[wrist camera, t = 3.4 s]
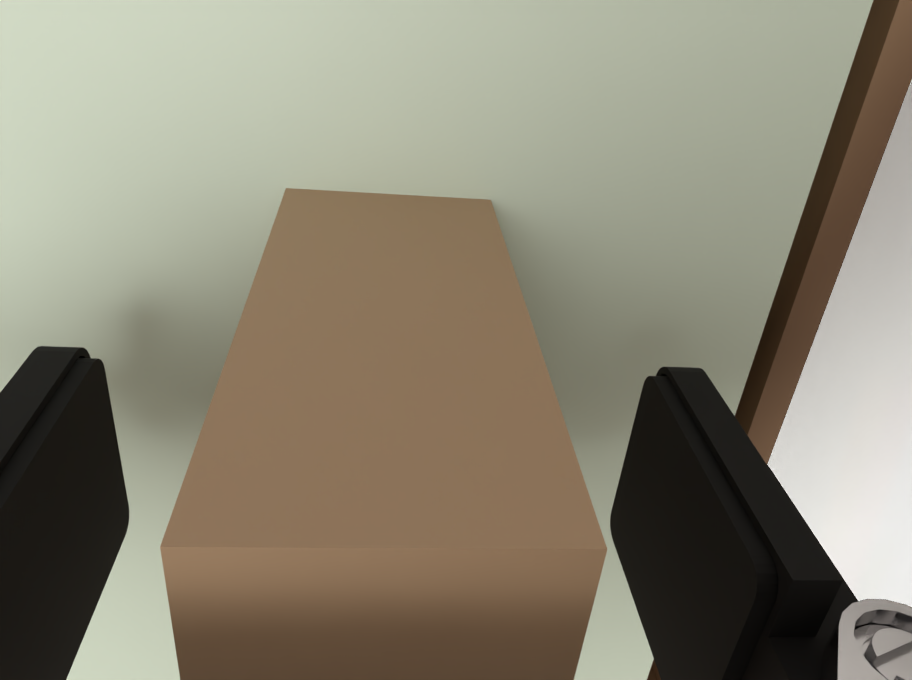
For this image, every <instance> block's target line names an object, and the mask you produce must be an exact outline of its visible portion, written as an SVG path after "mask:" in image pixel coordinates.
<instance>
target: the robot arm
mask: <svg viewBox="0 0 912 680" xmlns="http://www.w3.org/2000/svg"><path fill="white" fill-rule="evenodd" d="M128 524H129V504H128V499H127V493H126V487H125V481H124V476H123V470H122V464H121V458H120V453H119V447H118V441H117V435H116V430H115V424H114V418H113V412H112V407H111V401H110V395H109V390H108V384H107V378H106V372H105V368H104V364H103V362H102V360H100V359H97V358H91V357H90V354H89V353H88V351H87V350H86V349H85V348H84V347H55V346H39V347H37V348H35V349H34V350H33V351H32V353H31V354H30V355H29V356H28V358H27V359H26V360H25V361H24V363H23V364H22V365H21V367H20V368H19V369H18V370H17V372H16V373H15V374H14V376H13V377H12V378H11V379H10V381H9V382H8V383H7V385H6V386H5V387H4V388H3V390H2V391H1V392H0V680H66V679H67V677H68V674H69V672H70V669H71V667H72V665H73V662H74V660H75V657H76V655H77V652H78V650H79V648H80V645H81V643H82V640H83V638H84V635H85V633H86V631H87V628H88V626H89V623H90V621H91V618H92V616H93V614H94V611H95V609H96V606H97V604H98V601H99V599H100V596H101V594H102V592H103V589H104V587H105V584H106V582H107V579H108V577H109V575H110V572H111V570H112V567H113V565H114V562H115V560H116V558H117V555H118V553H119V550H120V548H121V545H122V543H123V541H124V538H125V536H126V532H127V529H128ZM610 530H611V536H612V539H613V542H614V545H615V548H616V551H617V554H618V557H619V560H620V562H621V565H622V568H623V571H624V574H625V577H626V580H627V583H628V586H629V588H630V591H631V594H632V597H633V600H634V603H635V606H636V609H637V612H638V614H639V617H640V620H641V623H642V626H643V629H644V632H645V635H646V637H647V640H648V643H649V646H650V649H651V652H652V655H653V658H654V661H655V663H656V666H657V669H658V672H659V675H660V678H661V680H912V607H910V606H908V605H905V604H901V603H897V602H893V601H889V600H884V599H865V600H862V601H858V600H857V599H856V597H855V596H854V594H853V593H852V591H851V590H850V588H849V587H848V585H847V584H846V582H845V581H844V579H843V578H842V576H841V575H840V573H839V572H838V570H837V569H836V567H835V566H834V564H833V563H832V561H831V560H830V558H829V557H828V555H827V554H826V552H825V551H824V549H823V547H822V546H821V544H820V543H819V541H818V540H817V538H816V537H815V535H814V534H813V532H812V531H811V529H810V528H809V526H808V525H807V523H806V522H805V520H804V519H803V517H802V516H801V514H800V513H799V511H798V510H797V508H796V507H795V505H794V504H793V502H792V501H791V499H790V498H789V496H788V495H787V493H786V492H785V490H784V489H783V487H782V486H781V484H780V483H779V481H778V480H777V478H776V477H775V475H774V474H773V472H772V471H771V469H770V468H769V467H768V465H767V464H766V463H765V461H764V460H763V458H762V457H761V455H760V454H759V452H758V451H757V449H756V448H755V446H754V445H753V443H752V442H751V440H750V439H749V437H748V436H747V434H746V433H745V431H744V430H743V428H742V426H741V425H740V423H739V422H738V420H737V419H736V417H735V416H734V414H733V413H732V411H731V410H730V408H729V407H728V405H727V404H726V402H725V401H724V399H723V398H722V396H721V395H720V393H719V392H718V390H717V389H716V387H715V386H714V384H713V383H712V381H711V380H710V378H709V377H708V375H707V374H706V372H705V371H704V370H703V369H702V368H692V367H662V368H660V369H659V370H658V372H657V374H656V376H648V377H647V378H646V379H645V381H644V384H643V388H642V391H641V395H640V399H639V403H638V407H637V411H636V415H635V419H634V423H633V427H632V431H631V435H630V439H629V443H628V447H627V451H626V455H625V459H624V463H623V467H622V471H621V475H620V479H619V483H618V487H617V491H616V495H615V498H614V502H613V506H612V510H611V516H610Z"/></svg>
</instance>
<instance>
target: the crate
mask: <svg viewBox="0 0 912 680" xmlns="http://www.w3.org/2000/svg"><path fill="white" fill-rule="evenodd" d="M911 79H912V0H873V3H872V6H871V9H870V12H869V15H868V18H867V21H866V24H865V27H864V30H863V33H862V36H861V39H860V42H859V45H858V48H857V51H856V54H855V57H854V60H853V63H852V66H851V69H850V72H849V75H848V78H847V81H846V84H845V87H844V90H843V93H842V96H841V99H840V102H839V105H838V108H837V111H836V114H835V117H834V120H833V123H832V126H831V129H830V132H829V135H828V138H827V141H826V144H825V147H824V150H823V153H822V156H821V159H820V162H819V165H818V168H817V171H816V174H815V177H814V180H813V183H812V186H811V189H810V192H809V195H808V198H807V201H806V204H805V207H804V210H803V213H802V216H801V219H800V222H799V225H798V228H797V231H796V234H795V237H794V240H793V243H792V246H791V249H790V252H789V255H788V258H787V261H786V264H785V267H784V270H783V273H782V276H781V279H780V282H779V285H778V288H777V291H776V294H775V297H774V300H773V303H772V306H771V309H770V312H769V315H768V318H767V321H766V324H765V327H764V330H763V333H762V336H761V339H760V342H759V345H758V348H757V351H756V354H755V357H754V360H753V363H752V366H751V369H750V372H749V375H748V378H747V381H746V384H745V387H744V390H743V393H742V396H741V399H740V402H739V405H738V408H737V411H736V414H735V417H736V419H737V420H738V422H739V423H740V425H741V426H742V428H743V430H744V431H745V433H746V434H747V436H748V437H749V439H750V440H751V442H752V443H753V445H754V446H755V448H756V449H757V451H758V452H759V454H760V455H761V457H762V458H763V460H764V461H765V463H766V464H767V463H768V461H769V458H770V455H771V453H772V450H773V447H774V445H775V442H776V439H777V437H778V434H779V431H780V429H781V426H782V423H783V421H784V418H785V415H786V413H787V410H788V407H789V405H790V402H791V399H792V397H793V394H794V391H795V389H796V386H797V383H798V380H799V378H800V375H801V372H802V370H803V367H804V364H805V362H806V359H807V356H808V354H809V351H810V348H811V346H812V343H813V340H814V338H815V335H816V332H817V330H818V327H819V324H820V322H821V319H822V316H823V314H824V311H825V308H826V306H827V303H828V300H829V298H830V295H831V292H832V290H833V287H834V284H835V282H836V279H837V276H838V274H839V271H840V268H841V266H842V263H843V260H844V258H845V255H846V252H847V250H848V247H849V244H850V242H851V239H852V236H853V234H854V231H855V228H856V226H857V223H858V220H859V218H860V215H861V212H862V210H863V207H864V204H865V202H866V199H867V196H868V194H869V191H870V188H871V186H872V183H873V180H874V178H875V175H876V172H877V170H878V167H879V164H880V162H881V159H882V156H883V154H884V151H885V148H886V146H887V143H888V140H889V138H890V135H891V132H892V130H893V127H894V124H895V122H896V119H897V116H898V114H899V111H900V108H901V106H902V103H903V100H904V98H905V95H906V92H907V90H908V87H909V84H910V82H911ZM647 680H661V678H660V675H659V672H658V669H657V666H656V663H655V661H654V660H653V663H652V666H651V669H650V672H649V675H648V678H647Z"/></svg>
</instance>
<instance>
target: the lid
mask: <svg viewBox="0 0 912 680" xmlns="http://www.w3.org/2000/svg"><path fill="white" fill-rule="evenodd" d="M872 3H873V0H0V392H1V391H2V390H3V388H4V387H5V386H6V385H7V383H8V382H9V381H10V379H11V378H12V377H13V376H14V374H15V373H16V372H17V370H18V369H19V368H20V367H21V365H22V364H23V363H24V361H25V360H26V359H27V358H28V356H29V355H30V354H31V353H32V351H33V350H34V349H35V348H37V347H39V346H55V347H84V348H85V349H86V350H87V351H88V353H89V354H90V357H91V358H97V359H100V360H102V362H103V364H104V368H105V372H106V378H107V384H108V390H109V395H110V401H111V407H112V412H113V418H114V424H115V430H116V435H117V441H118V447H119V453H120V458H121V464H122V470H123V476H124V481H125V487H126V493H127V499H128V504H129V524H128V529H127V532H126V536H125V538H124V541H123V543H122V545H121V548H120V550H119V553H118V555H117V558H116V560H115V562H114V565H113V567H112V570H111V572H110V575H109V577H108V579H107V582H106V584H105V587H104V589H103V592H102V594H101V596H100V599H99V601H98V604H97V606H96V609H95V611H94V614H93V616H92V618H91V621H90V623H89V626H88V628H87V631H86V633H85V635H84V638H83V640H82V643H81V645H80V648H79V650H78V652H77V655H76V657H75V660H74V662H73V665H72V667H71V669H70V672H69V674H68V677H67V679H66V680H647V678H648V675H649V672H650V669H651V666H652V663H653V660H654V658H653V655H652V652H651V649H650V646H649V643H648V640H647V637H646V635H645V632H644V629H643V626H642V623H641V620H640V617H639V614H638V612H637V609H636V606H635V603H634V600H633V597H632V594H631V591H630V588H629V586H628V583H627V580H626V577H625V574H624V571H623V568H622V565H621V562H620V560H619V557H618V554H617V551H616V548H615V545H614V542H613V539H612V536H611V530H610V516H611V510H612V506H613V502H614V498H615V495H616V491H617V487H618V483H619V479H620V475H621V471H622V467H623V463H624V459H625V455H626V451H627V447H628V443H629V439H630V435H631V431H632V427H633V423H634V419H635V415H636V411H637V407H638V403H639V399H640V395H641V391H642V388H643V384H644V381H645V379H646V378H647V377H648V376H656V374H657V372H658V370H659V369H660V368H662V367H692V368H702V369H703V370H704V371H705V372H706V374H707V375H708V377H709V378H710V380H711V381H712V383H713V384H714V386H715V387H716V389H717V390H718V392H719V393H720V395H721V396H722V398H723V399H724V401H725V402H726V404H727V405H728V407H729V408H730V410H731V411H732V413H733V414H734V416H735V414H736V411H737V408H738V405H739V402H740V399H741V396H742V393H743V390H744V387H745V384H746V381H747V378H748V375H749V372H750V369H751V366H752V363H753V360H754V357H755V354H756V351H757V348H758V345H759V342H760V339H761V336H762V333H763V330H764V327H765V324H766V321H767V318H768V315H769V312H770V309H771V306H772V303H773V300H774V297H775V294H776V291H777V288H778V285H779V282H780V279H781V276H782V273H783V270H784V267H785V264H786V261H787V258H788V255H789V252H790V249H791V246H792V243H793V240H794V237H795V234H796V231H797V228H798V225H799V222H800V219H801V216H802V213H803V210H804V207H805V204H806V201H807V198H808V195H809V192H810V189H811V186H812V183H813V180H814V177H815V174H816V171H817V168H818V165H819V162H820V159H821V156H822V153H823V150H824V147H825V144H826V141H827V138H828V135H829V132H830V129H831V126H832V123H833V120H834V117H835V114H836V111H837V108H838V105H839V102H840V99H841V96H842V93H843V90H844V87H845V84H846V81H847V78H848V75H849V72H850V69H851V66H852V63H853V60H854V57H855V54H856V51H857V48H858V45H859V42H860V39H861V36H862V33H863V30H864V27H865V24H866V21H867V18H868V15H869V12H870V9H871V6H872Z"/></svg>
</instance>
